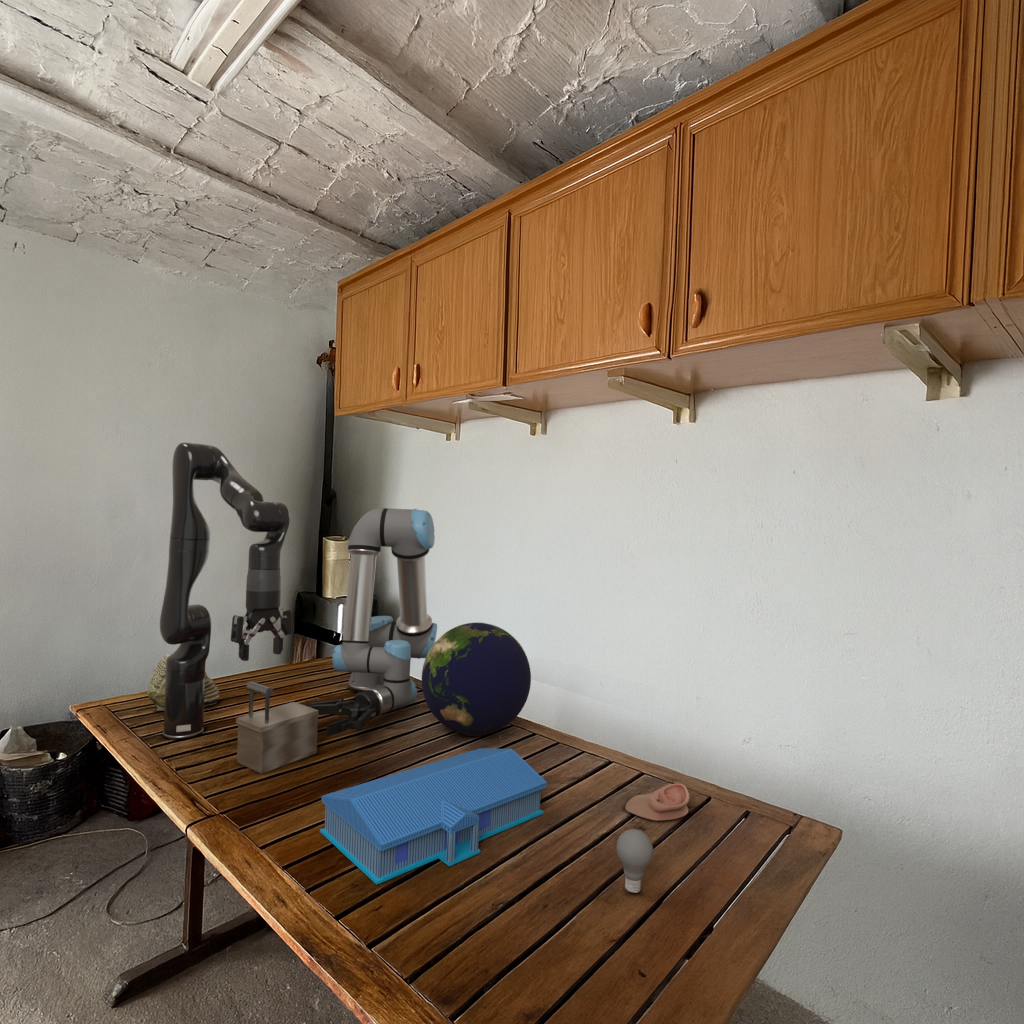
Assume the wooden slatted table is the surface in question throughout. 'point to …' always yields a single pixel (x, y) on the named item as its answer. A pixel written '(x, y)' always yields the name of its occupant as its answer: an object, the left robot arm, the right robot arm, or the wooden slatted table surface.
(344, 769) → the wooden slatted table surface
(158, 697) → the fossil
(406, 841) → the model building
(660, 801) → the anatomical model
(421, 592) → the right robot arm
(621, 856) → the light bulb
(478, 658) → the globe
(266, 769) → the chest
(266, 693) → the grey piece
